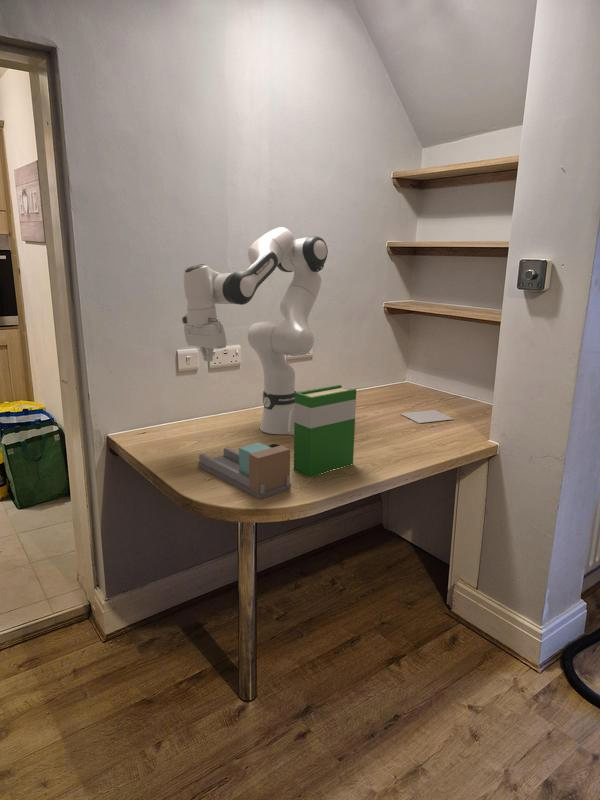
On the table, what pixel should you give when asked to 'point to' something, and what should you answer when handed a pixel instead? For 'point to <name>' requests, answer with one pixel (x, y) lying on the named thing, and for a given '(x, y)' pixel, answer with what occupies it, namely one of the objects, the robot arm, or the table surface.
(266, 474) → the keeper track
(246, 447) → the block
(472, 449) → the table surface
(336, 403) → the hardback book
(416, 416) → the paper stack
